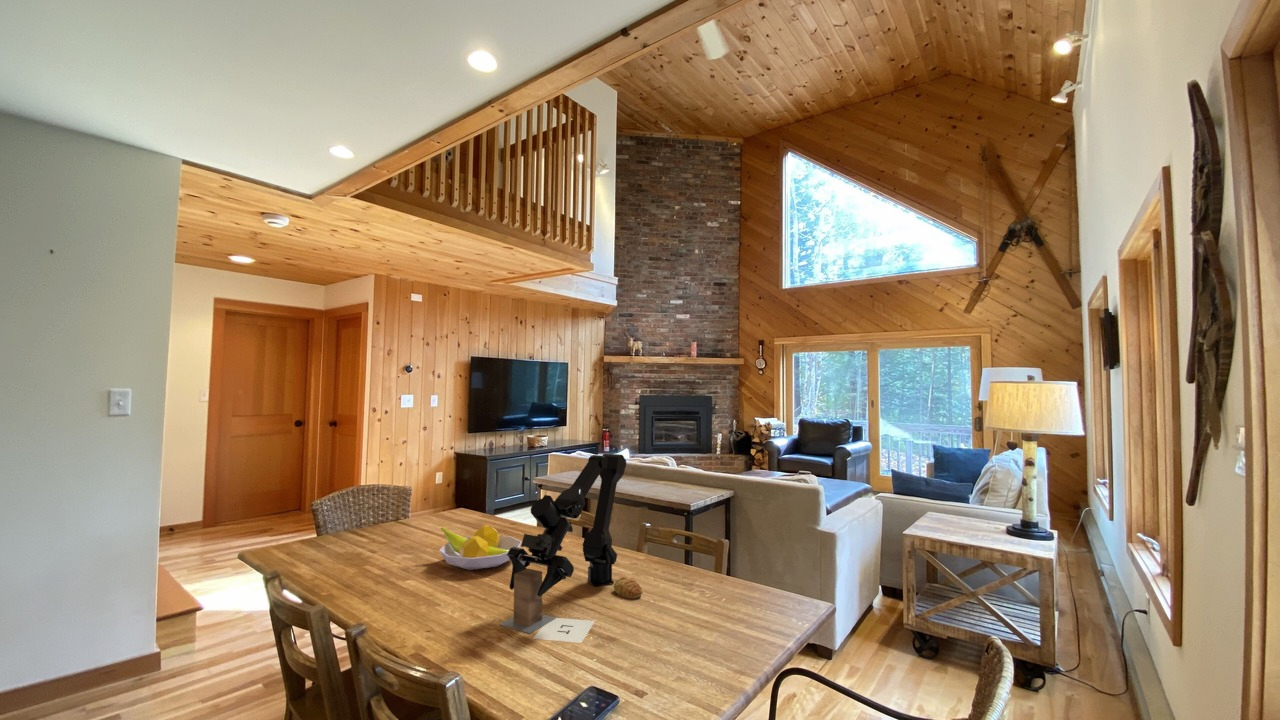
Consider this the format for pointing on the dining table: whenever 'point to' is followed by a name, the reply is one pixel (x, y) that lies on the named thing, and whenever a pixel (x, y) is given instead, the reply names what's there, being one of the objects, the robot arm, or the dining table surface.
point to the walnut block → (527, 597)
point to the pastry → (627, 588)
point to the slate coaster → (525, 629)
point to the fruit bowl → (477, 549)
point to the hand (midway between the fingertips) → (524, 592)
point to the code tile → (565, 630)
